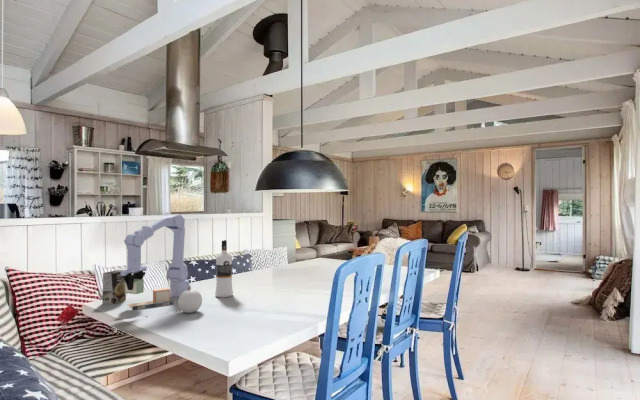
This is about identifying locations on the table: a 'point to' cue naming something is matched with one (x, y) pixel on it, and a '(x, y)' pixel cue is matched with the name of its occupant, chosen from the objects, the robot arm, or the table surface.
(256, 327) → the table surface
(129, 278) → the robot arm
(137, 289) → the sage tin
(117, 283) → the coffee box
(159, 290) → the salmon rectangular block
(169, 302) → the tan panel metal trim
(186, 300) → the ornament
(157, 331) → the table surface
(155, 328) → the table surface
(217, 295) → the vodka
